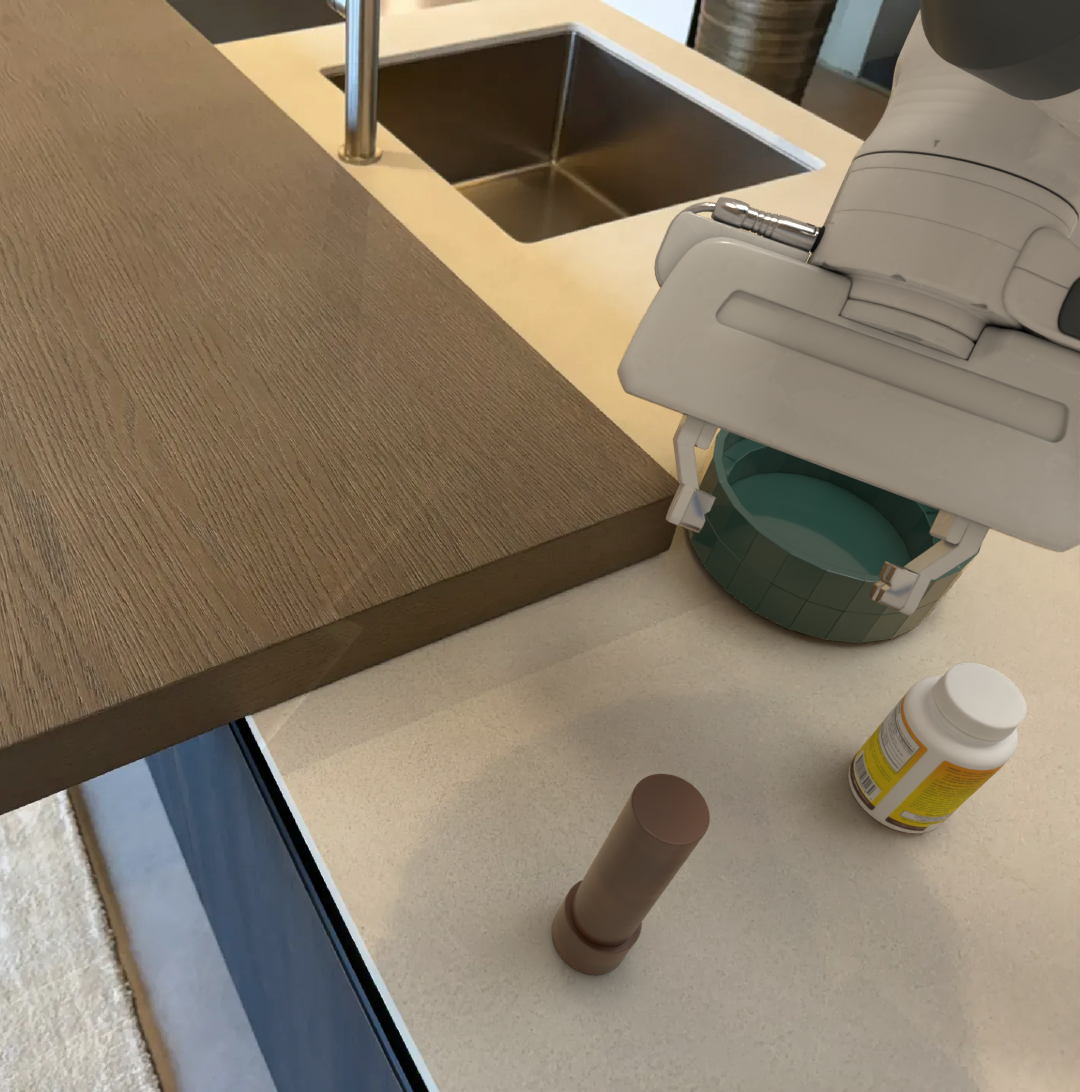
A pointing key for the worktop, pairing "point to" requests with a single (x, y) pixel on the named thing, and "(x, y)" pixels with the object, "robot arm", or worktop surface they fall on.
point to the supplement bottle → (938, 747)
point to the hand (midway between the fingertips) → (783, 566)
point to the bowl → (810, 542)
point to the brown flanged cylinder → (630, 873)
